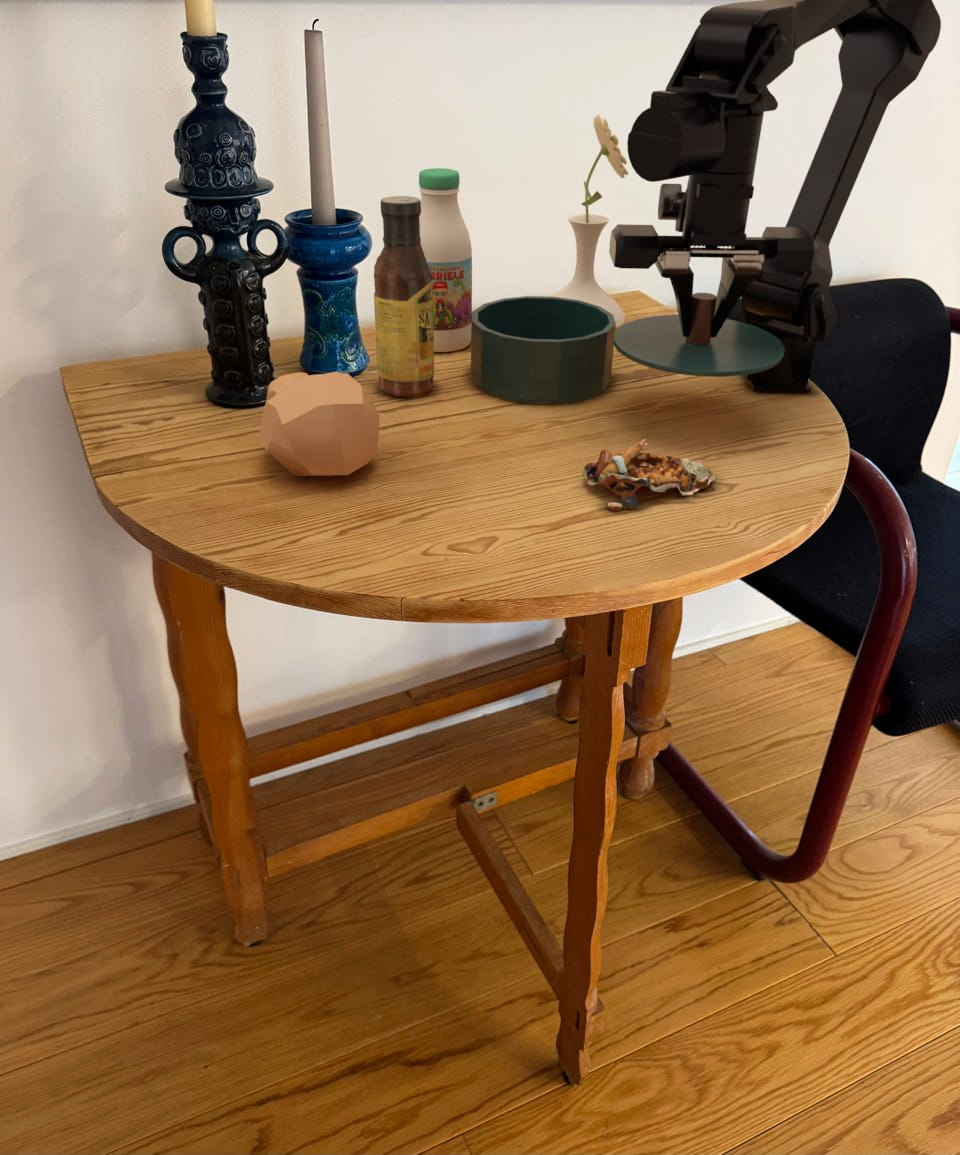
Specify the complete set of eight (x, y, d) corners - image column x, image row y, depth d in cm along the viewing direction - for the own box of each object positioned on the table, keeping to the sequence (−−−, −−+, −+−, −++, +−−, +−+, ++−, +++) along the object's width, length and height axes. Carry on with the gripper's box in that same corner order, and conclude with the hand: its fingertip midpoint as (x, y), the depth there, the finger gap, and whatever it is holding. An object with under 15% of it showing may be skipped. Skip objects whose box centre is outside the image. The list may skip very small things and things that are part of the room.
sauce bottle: (432, 400, 103) (429, 207, 92) (375, 398, 103) (365, 206, 92) (436, 377, 108) (434, 193, 97) (381, 376, 108) (373, 192, 97)
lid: (761, 325, 102) (770, 273, 99) (802, 384, 88) (814, 325, 85) (605, 323, 103) (609, 270, 99) (621, 381, 88) (627, 322, 85)
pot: (602, 355, 115) (607, 297, 111) (616, 406, 102) (622, 342, 98) (472, 352, 115) (473, 294, 112) (469, 403, 102) (469, 339, 98)
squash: (289, 508, 83) (257, 411, 78) (247, 444, 99) (218, 362, 95) (404, 467, 85) (379, 372, 81) (343, 412, 102) (320, 330, 97)
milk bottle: (402, 335, 120) (397, 166, 109) (461, 330, 122) (462, 163, 111) (418, 356, 114) (414, 178, 103) (479, 350, 116) (481, 175, 105)
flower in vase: (619, 348, 117) (640, 126, 104) (528, 339, 119) (538, 121, 106) (630, 316, 128) (650, 111, 114) (546, 309, 130) (557, 107, 116)
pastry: (726, 489, 86) (732, 453, 84) (612, 514, 82) (615, 476, 80) (682, 457, 92) (687, 423, 90) (572, 479, 87) (575, 444, 85)
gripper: (802, 154, 93) (773, 312, 101) (610, 151, 93) (598, 309, 101) (835, 176, 83) (800, 348, 92) (623, 173, 84) (608, 345, 92)
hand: (698, 336), depth 95 cm, fingers closed on lid, 2 cm apart
